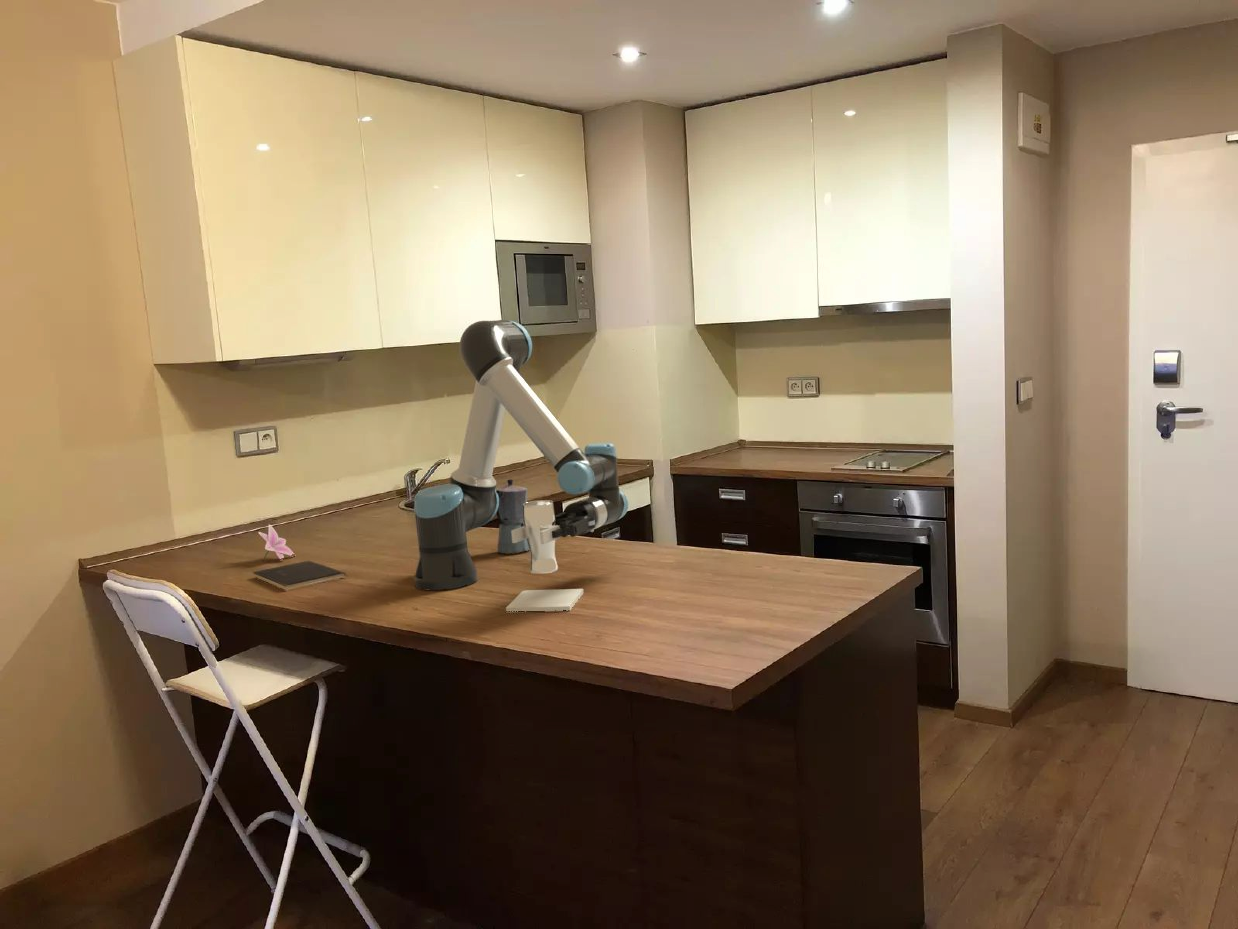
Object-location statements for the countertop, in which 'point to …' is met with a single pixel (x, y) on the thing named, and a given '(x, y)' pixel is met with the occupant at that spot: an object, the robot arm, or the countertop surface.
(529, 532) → the beer glass
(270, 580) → the hardcover book
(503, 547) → the moka pot
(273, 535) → the lily
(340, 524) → the countertop surface
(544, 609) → the mat
